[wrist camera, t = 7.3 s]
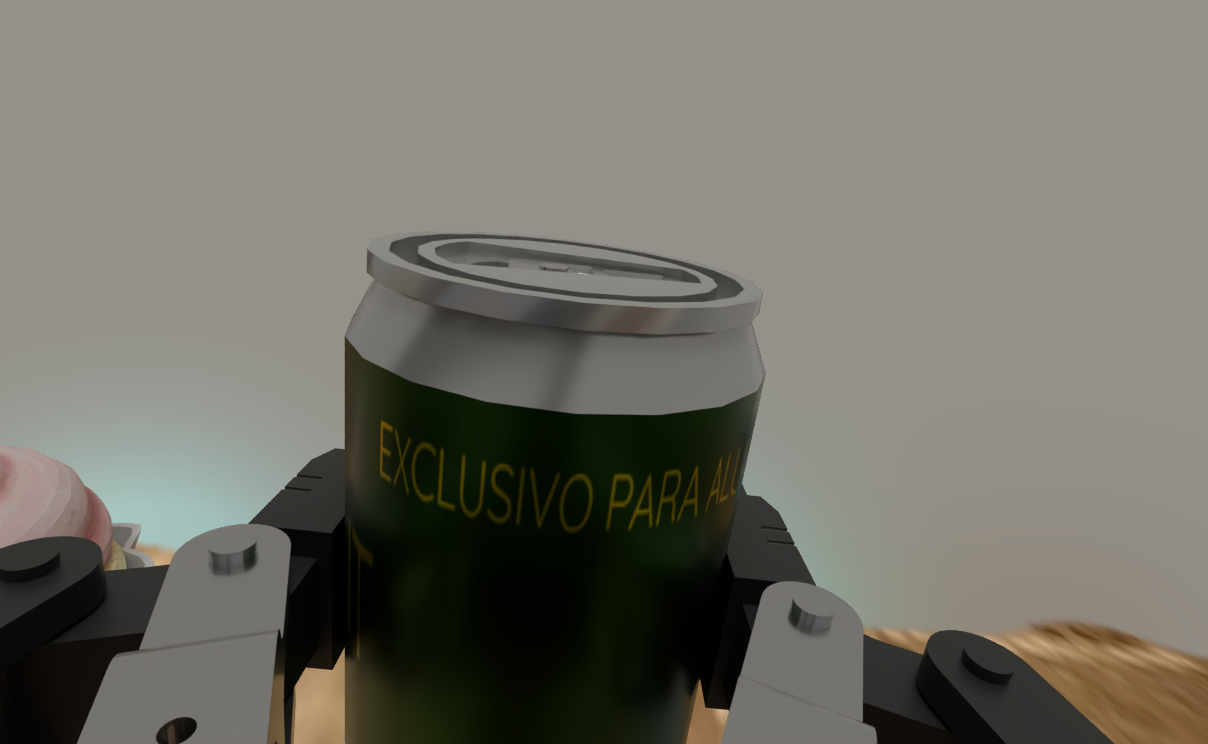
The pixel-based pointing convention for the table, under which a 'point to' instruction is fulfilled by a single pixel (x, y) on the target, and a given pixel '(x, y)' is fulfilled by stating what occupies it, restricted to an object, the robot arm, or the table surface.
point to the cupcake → (59, 508)
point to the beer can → (538, 487)
